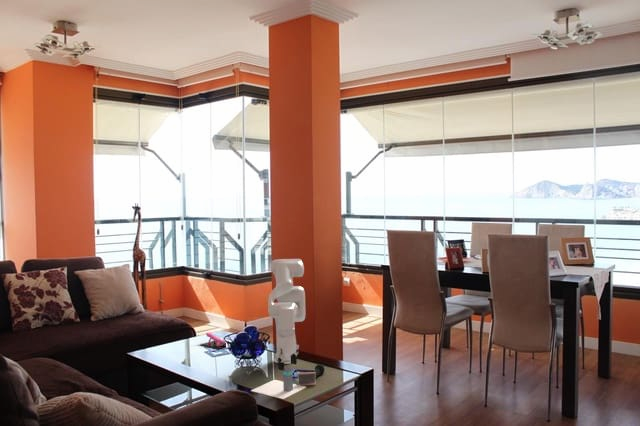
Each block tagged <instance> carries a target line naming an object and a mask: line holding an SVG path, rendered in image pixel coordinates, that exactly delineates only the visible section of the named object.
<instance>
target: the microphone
mask: <svg viewBox="0 0 640 426" xmlns="http://www.w3.org/2000/svg"><path fill="white" fill-rule="evenodd" d="M325 371H326V370H325V366H324V365H323V364H320V363H319V364H317V365H315V367H314V370H313V372H316V378H317V377H319V375H323V374H325Z"/></svg>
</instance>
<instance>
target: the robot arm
mask: <svg viewBox="0 0 640 426" xmlns="http://www.w3.org/2000/svg"><path fill="white" fill-rule="evenodd" d="M304 265H305V264H304V263H303V261H302V259H301V258H281V259H280V258H279V259H273V260H272V261H271V262H270V268H271V271H272V273H273V276H274V277H275V278H274V279H275V287H274V288H273V289H272V291H270V293H269V296H268V300H267V301H268V303H267V305H268V307H267V309H268V315H269V317H270V318H271V319H274V321H275V329H276V330H275V331H276V335H275V336H276V353H274V357H275V358H274V359H273V361H274V363H276V364H277V369H278V371H281V372H283V371H284V369H285V365H291V364H292V365H297V364H298V363H297V359H298V358H297V356H298V354H299V347H300V345H299V344H297V338H296V337H297V336H296V331H295V330H296V329H295V326H296V325H295V323H298V322H300V323H301V322H303V321H305V319H306V292H305V289H304V287H302V286H300V285H294V278H302V277H303V276H304V274H305V266H304ZM275 301H277V302H275Z"/></svg>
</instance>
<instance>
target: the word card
mask: <svg viewBox="0 0 640 426" xmlns="http://www.w3.org/2000/svg"><path fill="white" fill-rule="evenodd" d="M296 375H297V376H296V377H297V378H296V379H297V383H296V384H297V385H300V386H315V385H317V380H316V378H317V377H316V372H314V371H313V372H310V371H309V372H308V371H307V372H297V374H296Z"/></svg>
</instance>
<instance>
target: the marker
mask: <svg viewBox="0 0 640 426" xmlns="http://www.w3.org/2000/svg"><path fill="white" fill-rule="evenodd" d="M293 373H294V372H293V369H292V368H288V367H287V368H284V371H282V378H283V379H282V381H283V387H284V391H287V392H290V391H292V390H293V384H294V381H293V380H294V379H293V377H294V376H293V375H294V374H293Z"/></svg>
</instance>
